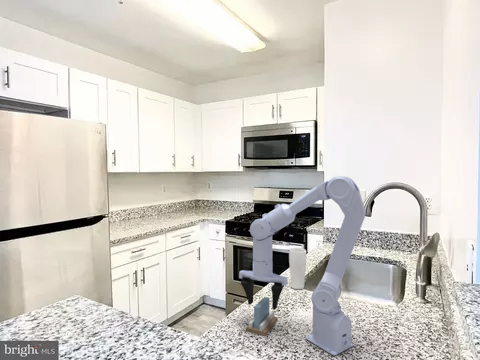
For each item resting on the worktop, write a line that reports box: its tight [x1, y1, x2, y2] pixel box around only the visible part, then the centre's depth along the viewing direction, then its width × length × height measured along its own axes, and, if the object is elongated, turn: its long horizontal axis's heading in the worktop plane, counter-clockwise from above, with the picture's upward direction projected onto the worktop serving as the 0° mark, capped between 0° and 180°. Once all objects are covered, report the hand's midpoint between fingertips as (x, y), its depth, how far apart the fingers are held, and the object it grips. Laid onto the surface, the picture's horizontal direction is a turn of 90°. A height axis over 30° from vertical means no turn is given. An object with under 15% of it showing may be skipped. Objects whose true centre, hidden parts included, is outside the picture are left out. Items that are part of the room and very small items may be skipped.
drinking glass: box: [288, 247, 307, 290], centre depth 116 cm, size 7×7×15 cm
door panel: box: [253, 296, 270, 329], centre depth 85 cm, size 8×2×6 cm, turn 154°
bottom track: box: [245, 310, 278, 337], centre depth 85 cm, size 10×6×3 cm, turn 154°
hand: (262, 305), depth 85 cm, fingers open, 7 cm apart
